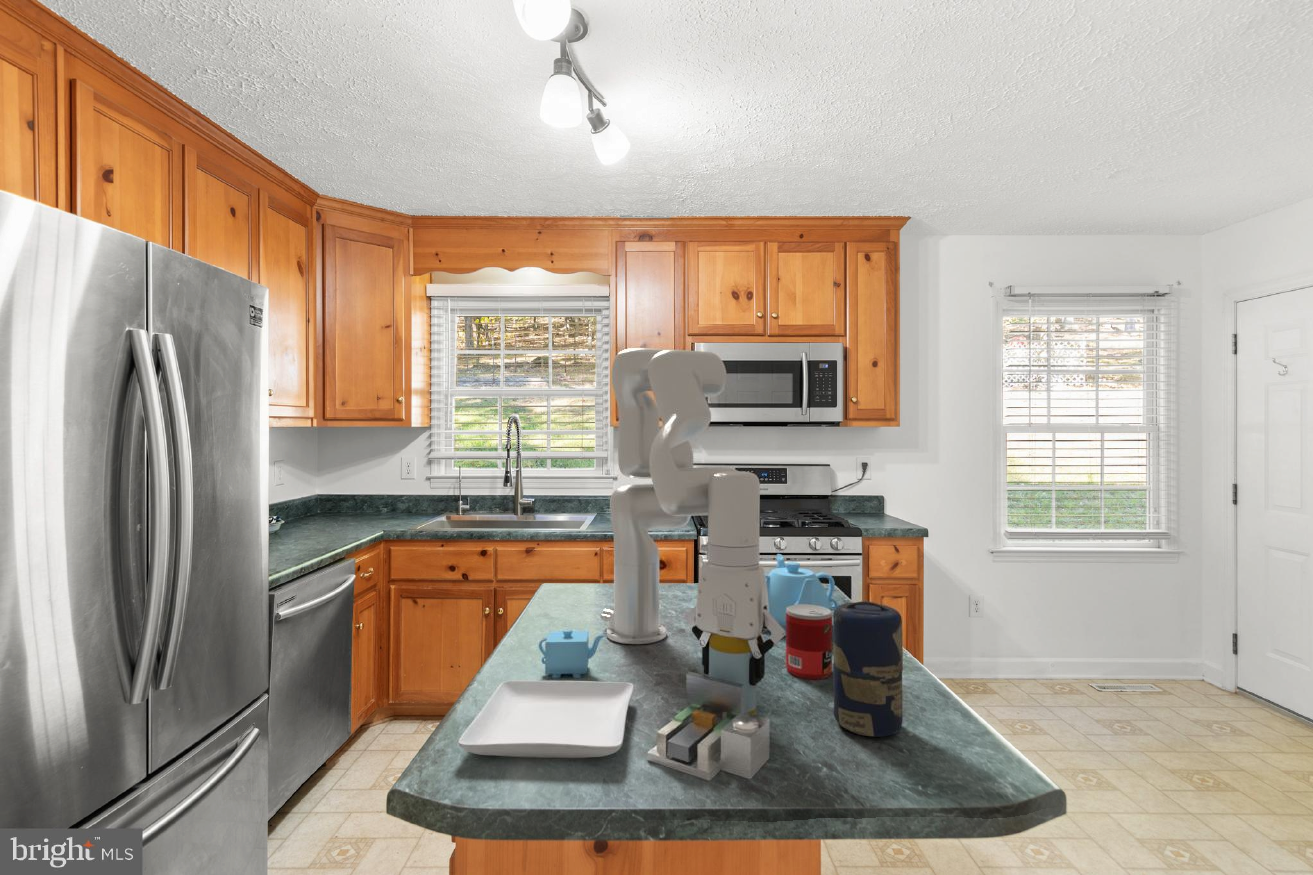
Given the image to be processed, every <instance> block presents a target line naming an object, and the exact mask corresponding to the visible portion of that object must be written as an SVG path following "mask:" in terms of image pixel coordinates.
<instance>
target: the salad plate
mask: <svg viewBox="0 0 1313 875" xmlns="http://www.w3.org/2000/svg"><path fill="white" fill-rule="evenodd" d="M634 688H635V686H634V684H633V683H631V682H618V681H614V682H613V681H592V680H591V681H590V680H589V681H588V680H505V681H502V682H501V683H500V684H499V685H497V688H496V689H495V690H494V691H493V693H492V694H491V696H490V697H489V699H488V700H487V702H486V703H485V705H483V707H481V708H482V709H481V710H480V711H479V713H477V715H476V716H475V718H474V719H473V720H472V722H470V724H469V726H467V727H466V729H465V730H464V731H463V733H462V734H461V735H460V737H459V739H458V742H457V743H458V745H459V747H460V748H461V749H462V750H464V751H466V752H468V753H471V754H476V755H479V756H480V755H481V756H496V757H505V758H506V757H507V758H508V757H510V758H513V757H514V758H545V759H547V758H548V759H551V758H552V759H553V758H554V759H559V758H560V759H588V758H600V757H607V756H609V755H612V754H615V753H616V752H618V751H619V750H620V749H621V748H622V746H623V742H624V737H625V728H626V721H627V720H626V719H627V714H628V709H629V704H630V702H631V699H632V696H633V693H634Z"/></svg>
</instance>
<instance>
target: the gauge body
mask: <svg viewBox="0 0 1313 875" xmlns="http://www.w3.org/2000/svg"><path fill="white" fill-rule="evenodd" d="M700 709H703V706H699V705H695V704H691V703H690V704H689V705H688V706H686V707H685V708H684V709H683V710H682V711H680V712H678V713H677V714H676V715H675V716H674V717H673V719H672V720H671V721H670V722H668V723H667V724H666V725H664V726H663V727H662V728H661V729H659V730H658V731H657V732H656V745H655V746H654V747H652V748H651V749H650V750H648V751H647V752H646V753H647V756H646V760H647V761H648V762H652V763H655V764H657V765H661V766H664V767H667V768H670V769H673V770H675V771H678V772H680V773H681V772H682V773H685V774H688V775H691V776H693V777H697V778H699V779H702V780H706V781H708V782H710V781H712V779H714V778H715V776H716V775H717V774H718V773H719V772H720V771H722V772H725V773H729V774H732V775H736V776H739V777H742V778H745V779H747V780H751V779H752V778H753V777H754V776H755V775H756V774H757V772H759V770H760V769H761V768H763V766H764V765H765V764H766V762H767V761H768V760H769V759H770V719H769V718H765V717H762V716H758V715H755V714H753V715H751V714H747V713H743V712H740V713H739V714H738V715H733V714H730V715H728V716H727V717H726V718H725V719H724V720H723V721H721V722H720V723H719V724H718V725H717V726H716V727H715V728H713V732H712V733H710V734H709V735H708V736H707V737H706V738H705V739H704V740H702V741H701V742H700V743H699V744H698V754H697V755H696V756H695V757H694V758H692V759H691V760H690V761H689V762H686V761H683V760H680V759H677V758H674V757H671V756H668V740H670V739H671V738H672V737H674V736H675V735H676V734H677V733H679V732H680V731H681V730H682V729H684V728H685V727H686V726H687V725H689V724H690V723H691V722H692V713H693V712H694V711H695V710H700Z"/></svg>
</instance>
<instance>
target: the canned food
mask: <svg viewBox="0 0 1313 875" xmlns="http://www.w3.org/2000/svg"><path fill="white" fill-rule="evenodd" d="M832 612H833V611H831V610H829V609H827V608H825V607H822V606H817V605H808V604H798V605H791V606H789V607H787V608H786V635H785V666H786V671H787V672H788V673H790V674H791V675H793V676H795V677H797V678H802V679H807V680H820V679H821V680H822V679H826V678H827V677H829V676H831V673H832V670H833V613H832Z"/></svg>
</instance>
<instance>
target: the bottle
mask: <svg viewBox="0 0 1313 875" xmlns="http://www.w3.org/2000/svg"><path fill="white" fill-rule="evenodd" d="M716 616H717V628H718V629H720V630H717V633H716V634H711V637H710V641H709V674H708V676H710V677H715V678H719V679H723V680H728V681H732V682H736V683H740V684H745V709H744V713H747V714H751V715H755V713H756V712H757V706H758V705H757V704H758V703H757V702H758V701H757V700H758V695H757V693H758V690H757V689H758V683H757V684H756V685H755V686H752V685H750V684H749V659H750V658H751V657H752V656H753V654H752V651H751V649H750V646H749V643H748V641H747V640H742V639H738V638H735V637H734V633H730V631H733V619H734V618H735V617H733V616H732V615H726V614H721V613H718V614H717V615H716ZM728 715H730V714H729V713H726V717H727V716H728Z"/></svg>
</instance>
